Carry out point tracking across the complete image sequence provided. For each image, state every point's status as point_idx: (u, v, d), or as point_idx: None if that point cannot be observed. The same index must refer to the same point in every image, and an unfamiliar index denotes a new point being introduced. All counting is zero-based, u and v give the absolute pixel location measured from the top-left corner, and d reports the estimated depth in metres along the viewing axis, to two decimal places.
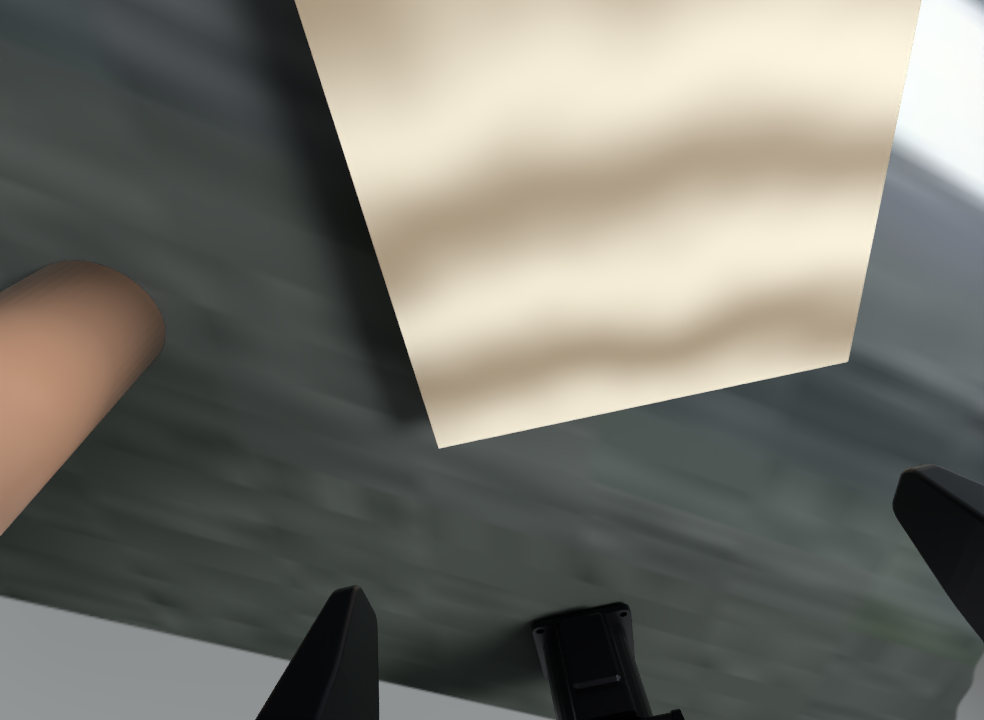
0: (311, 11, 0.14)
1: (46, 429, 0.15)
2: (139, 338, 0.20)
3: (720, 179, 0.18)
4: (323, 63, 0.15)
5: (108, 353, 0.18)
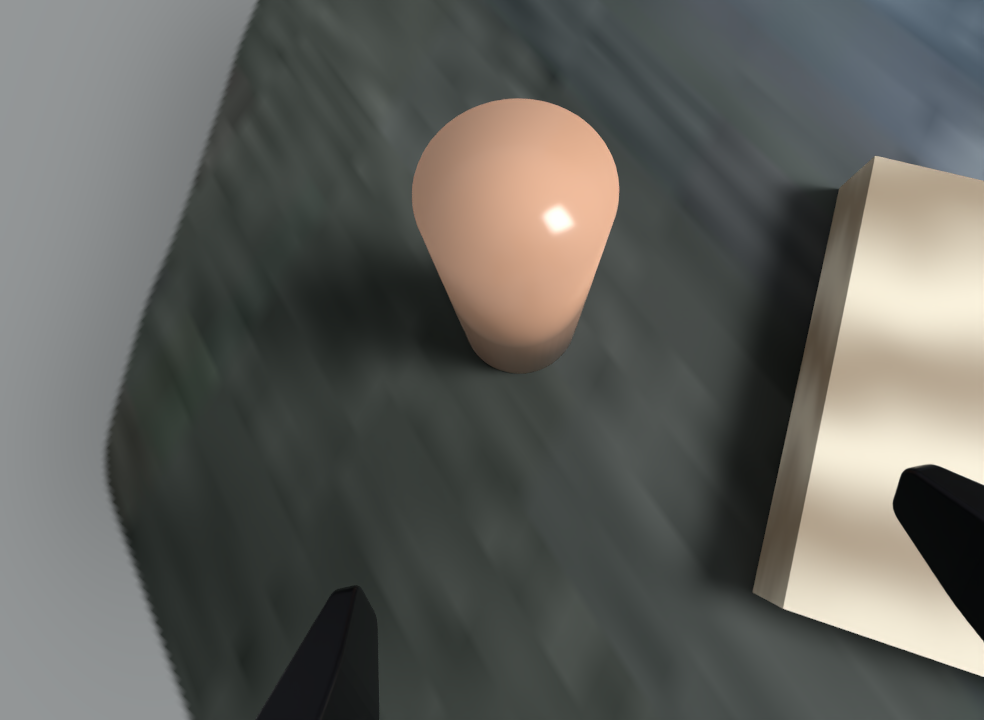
0: (875, 200, 0.21)
1: (591, 282, 0.16)
2: (574, 331, 0.21)
3: None
4: (866, 227, 0.21)
5: None
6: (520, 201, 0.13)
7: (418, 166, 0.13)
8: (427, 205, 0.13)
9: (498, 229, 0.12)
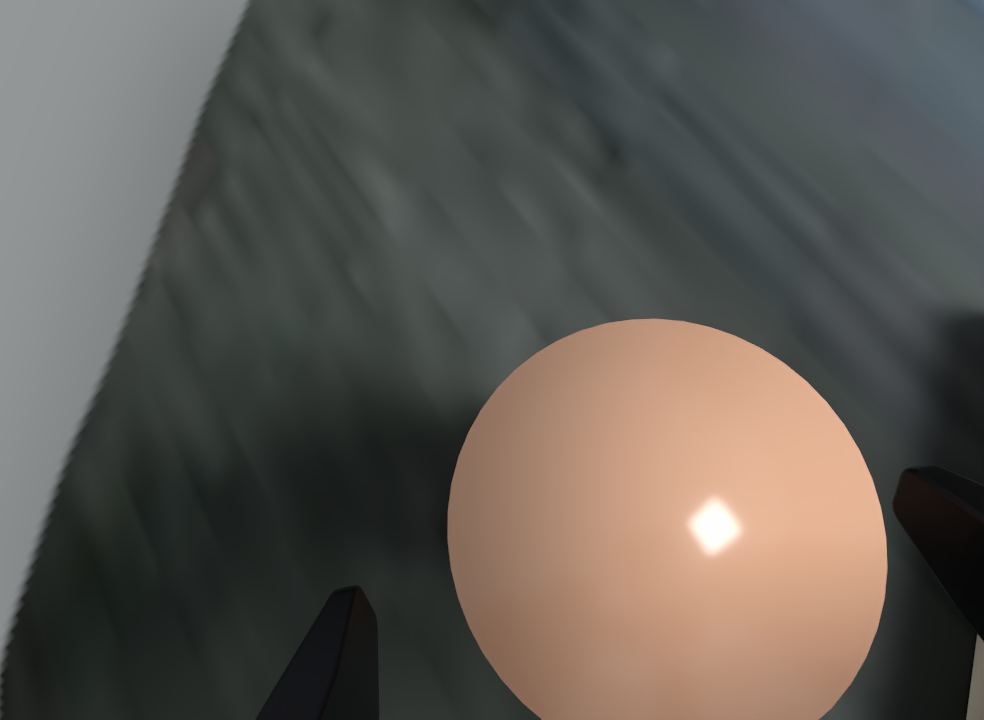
0: None
1: None
2: None
3: None
4: None
5: None
6: (674, 553, 0.06)
7: (460, 461, 0.06)
8: (479, 554, 0.06)
9: (631, 620, 0.06)
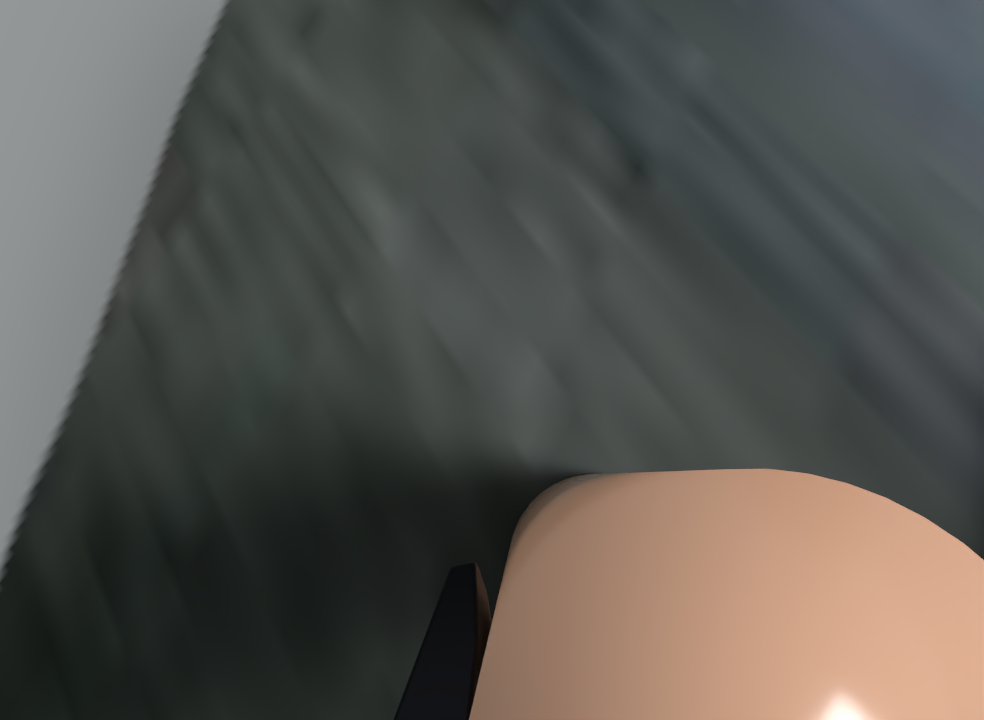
0: None
1: None
2: None
3: None
4: None
5: None
6: None
7: (480, 687, 0.04)
8: None
9: None
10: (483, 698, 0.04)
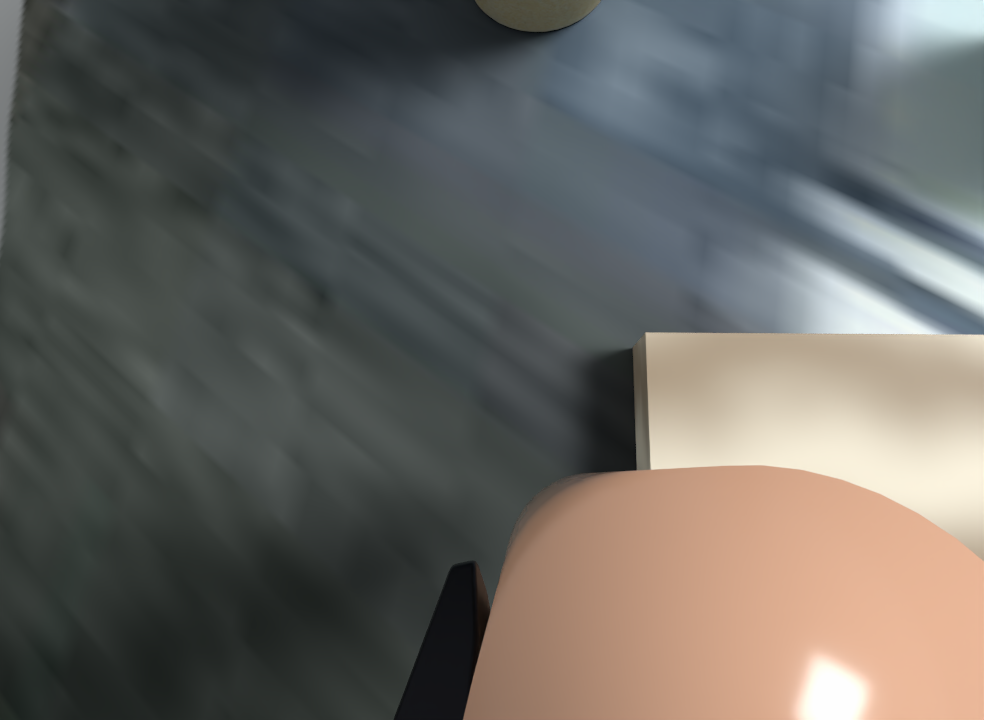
0: (656, 382, 0.20)
1: None
2: None
3: None
4: (654, 414, 0.20)
5: None
6: None
7: (475, 684, 0.04)
8: None
9: None
10: (478, 694, 0.04)
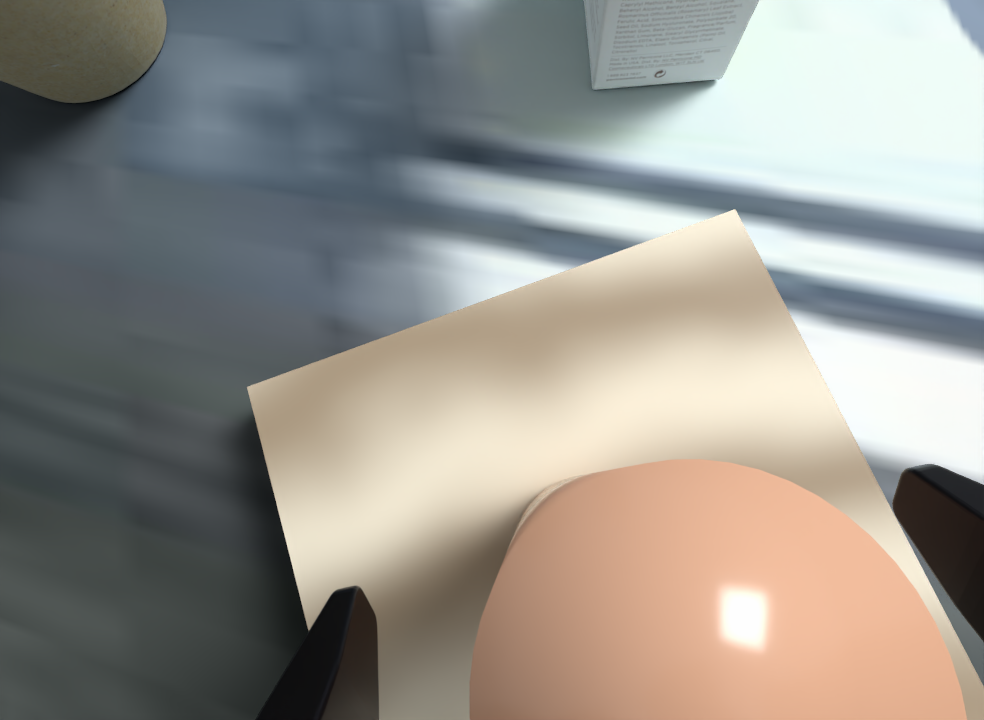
0: (270, 437, 0.18)
1: None
2: None
3: None
4: (276, 474, 0.17)
5: None
6: None
7: (482, 622, 0.06)
8: None
9: None
10: (485, 630, 0.06)
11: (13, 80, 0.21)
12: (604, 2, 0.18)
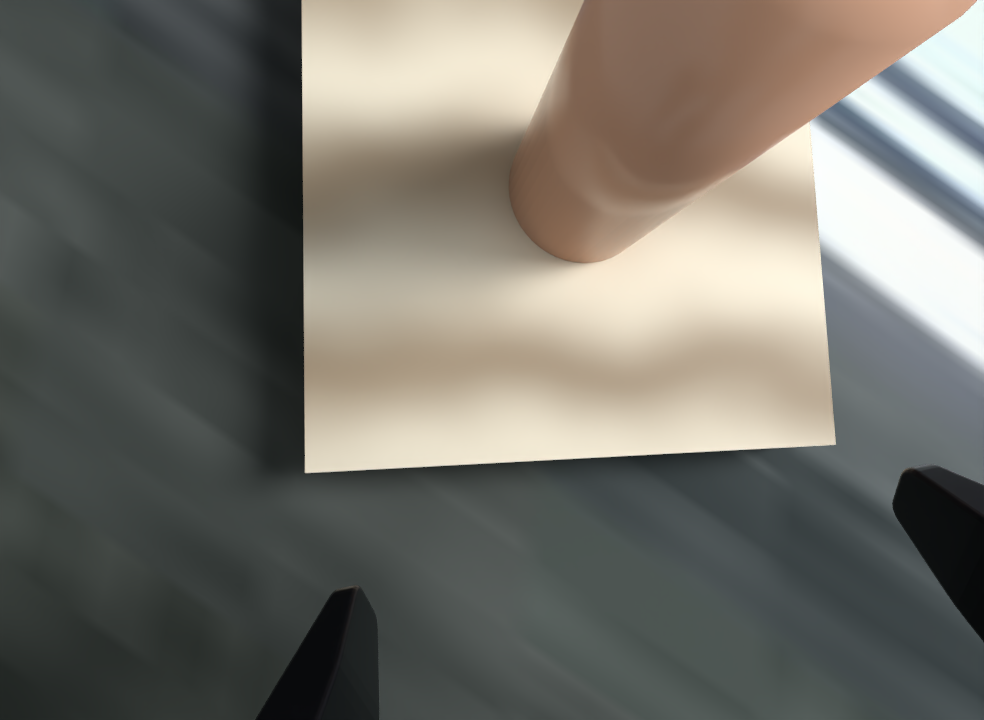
0: None
1: None
2: None
3: None
4: (309, 4, 0.17)
5: None
6: None
7: None
8: None
9: None
10: None
11: None
12: None
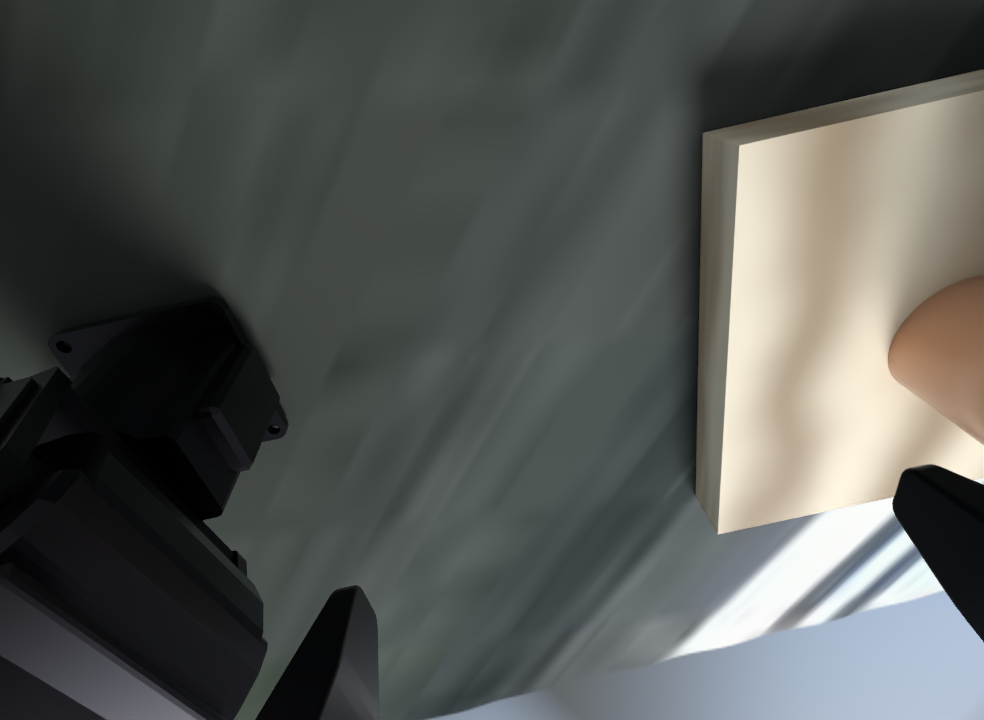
0: None
1: None
2: (934, 408, 0.20)
3: None
4: None
5: (982, 444, 0.18)
6: None
7: None
8: None
9: None
10: None
11: None
12: None
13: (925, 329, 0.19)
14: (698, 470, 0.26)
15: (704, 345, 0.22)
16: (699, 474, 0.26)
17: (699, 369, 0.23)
